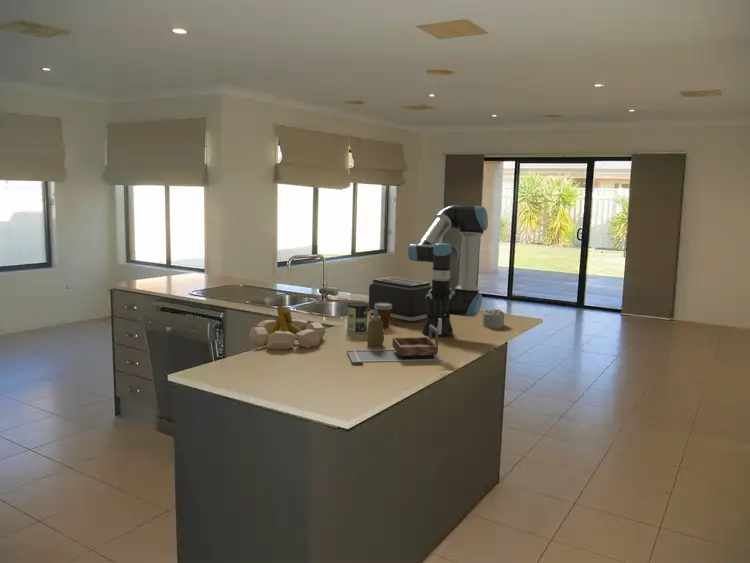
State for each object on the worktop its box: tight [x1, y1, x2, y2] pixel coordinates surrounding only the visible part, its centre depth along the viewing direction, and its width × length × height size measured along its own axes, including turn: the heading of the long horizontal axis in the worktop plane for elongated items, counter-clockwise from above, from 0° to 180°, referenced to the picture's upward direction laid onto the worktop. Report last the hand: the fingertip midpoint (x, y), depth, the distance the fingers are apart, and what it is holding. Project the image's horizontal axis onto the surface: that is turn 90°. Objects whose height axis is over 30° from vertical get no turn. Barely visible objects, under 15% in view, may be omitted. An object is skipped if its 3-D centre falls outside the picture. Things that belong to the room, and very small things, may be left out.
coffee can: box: [346, 301, 369, 335], centre depth 313 cm, size 10×10×14 cm
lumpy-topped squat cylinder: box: [482, 308, 505, 329], centre depth 335 cm, size 10×13×9 cm
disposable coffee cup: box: [374, 303, 392, 329], centre depth 326 cm, size 10×10×12 cm
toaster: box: [368, 276, 432, 324], centre depth 353 cm, size 19×35×20 cm, turn 48°
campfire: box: [248, 305, 326, 350], centre depth 291 cm, size 35×34×17 cm
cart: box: [392, 325, 440, 359], centre depth 269 cm, size 17×16×12 cm
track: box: [346, 348, 443, 365], centre depth 268 cm, size 38×18×1 cm, turn 100°
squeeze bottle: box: [366, 308, 385, 348], centre depth 284 cm, size 8×8×18 cm
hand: (438, 333), depth 270 cm, fingers closed
